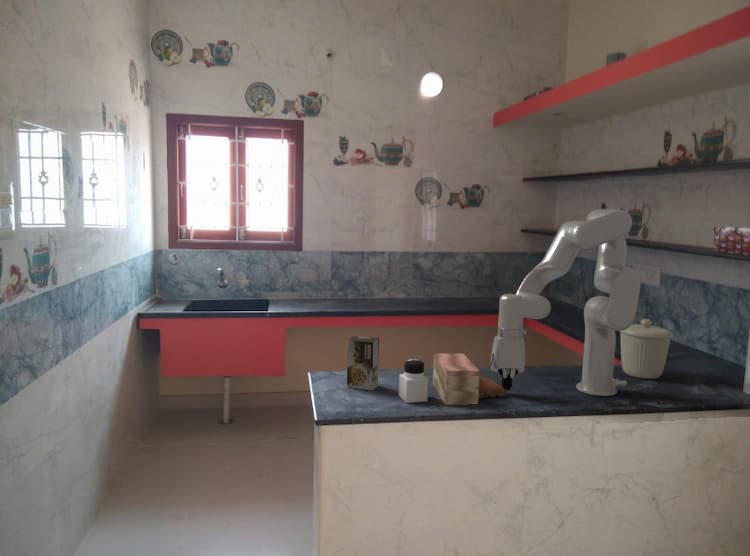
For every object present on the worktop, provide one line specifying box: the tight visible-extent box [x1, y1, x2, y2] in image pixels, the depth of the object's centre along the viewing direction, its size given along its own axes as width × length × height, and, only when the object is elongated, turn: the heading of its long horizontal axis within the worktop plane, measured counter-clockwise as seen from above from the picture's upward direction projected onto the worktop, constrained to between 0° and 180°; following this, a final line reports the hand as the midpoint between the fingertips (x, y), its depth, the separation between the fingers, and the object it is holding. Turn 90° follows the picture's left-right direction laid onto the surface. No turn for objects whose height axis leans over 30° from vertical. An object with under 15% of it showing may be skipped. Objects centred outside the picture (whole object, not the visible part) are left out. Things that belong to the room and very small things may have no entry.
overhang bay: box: [432, 352, 481, 406], centre depth 182 cm, size 10×21×10 cm, turn 5°
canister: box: [619, 318, 674, 380], centre depth 210 cm, size 18×18×21 cm
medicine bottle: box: [398, 358, 430, 404], centre depth 176 cm, size 7×7×12 cm
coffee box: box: [346, 335, 380, 391], centre depth 187 cm, size 9×6×16 cm
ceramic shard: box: [478, 375, 507, 400], centre depth 185 cm, size 15×6×15 cm
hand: (506, 389), depth 184 cm, fingers closed
